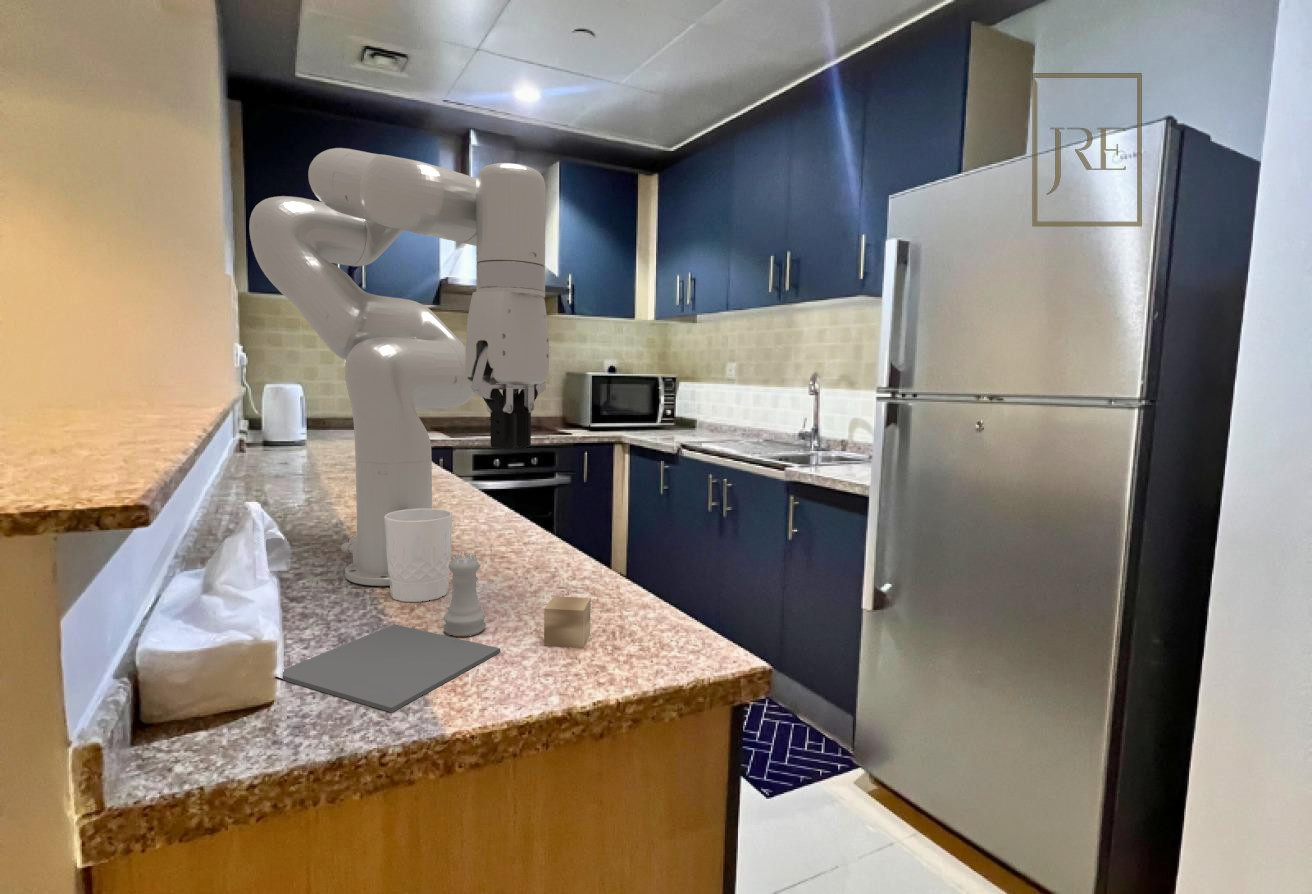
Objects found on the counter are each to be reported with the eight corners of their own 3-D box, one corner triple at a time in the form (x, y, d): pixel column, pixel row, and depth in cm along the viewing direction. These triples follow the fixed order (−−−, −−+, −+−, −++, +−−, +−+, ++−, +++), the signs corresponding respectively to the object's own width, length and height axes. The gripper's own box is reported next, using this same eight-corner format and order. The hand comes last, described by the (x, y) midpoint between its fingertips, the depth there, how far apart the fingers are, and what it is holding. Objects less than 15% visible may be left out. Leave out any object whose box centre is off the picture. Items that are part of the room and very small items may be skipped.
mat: (274, 677, 62) (274, 673, 62) (394, 627, 75) (394, 624, 75) (391, 712, 56) (391, 707, 56) (500, 652, 69) (500, 648, 69)
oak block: (543, 646, 71) (544, 608, 70) (553, 632, 75) (553, 596, 74) (582, 649, 70) (583, 610, 70) (590, 634, 74) (590, 598, 74)
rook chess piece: (474, 640, 72) (474, 564, 71) (434, 635, 73) (434, 560, 72) (493, 625, 76) (493, 553, 75) (455, 621, 77) (455, 550, 76)
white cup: (425, 608, 81) (424, 523, 80) (371, 599, 84) (369, 517, 83) (465, 589, 89) (465, 511, 88) (415, 581, 91) (414, 506, 90)
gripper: (525, 292, 87) (525, 440, 89) (434, 274, 72) (436, 451, 74) (577, 290, 83) (575, 443, 85) (493, 271, 69) (493, 456, 71)
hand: (510, 445), depth 80 cm, fingers closed
